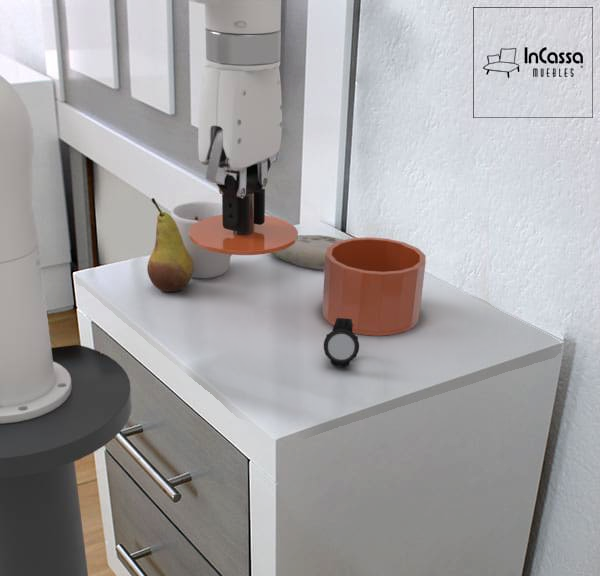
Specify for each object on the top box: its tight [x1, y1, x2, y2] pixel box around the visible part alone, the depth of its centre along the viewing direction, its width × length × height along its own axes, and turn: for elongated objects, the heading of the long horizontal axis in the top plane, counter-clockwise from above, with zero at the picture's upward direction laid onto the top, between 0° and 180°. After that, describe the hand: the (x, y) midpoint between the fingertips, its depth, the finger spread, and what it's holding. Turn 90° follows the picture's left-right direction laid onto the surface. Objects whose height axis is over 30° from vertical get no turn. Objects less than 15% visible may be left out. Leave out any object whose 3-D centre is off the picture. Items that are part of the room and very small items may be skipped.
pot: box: [322, 236, 427, 337], centre depth 105 cm, size 11×11×8 cm
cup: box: [170, 201, 232, 279], centre depth 115 cm, size 11×8×8 cm
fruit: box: [146, 197, 194, 292], centre depth 108 cm, size 6×6×12 cm
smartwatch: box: [323, 318, 360, 367], centre depth 95 cm, size 4×5×5 cm
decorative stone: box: [270, 234, 344, 271], centre depth 119 cm, size 6×16×3 cm, turn 73°
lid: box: [189, 189, 299, 256], centre depth 100 cm, size 12×12×6 cm
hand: (243, 224), depth 101 cm, fingers closed on lid, 2 cm apart
